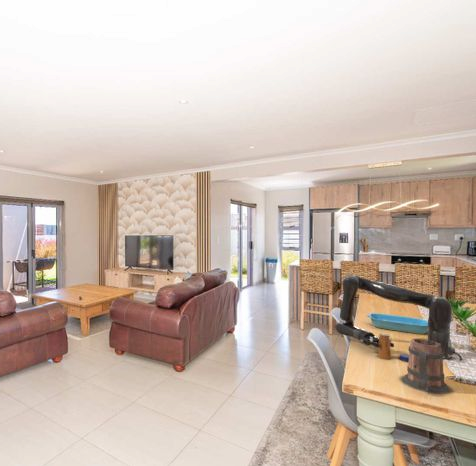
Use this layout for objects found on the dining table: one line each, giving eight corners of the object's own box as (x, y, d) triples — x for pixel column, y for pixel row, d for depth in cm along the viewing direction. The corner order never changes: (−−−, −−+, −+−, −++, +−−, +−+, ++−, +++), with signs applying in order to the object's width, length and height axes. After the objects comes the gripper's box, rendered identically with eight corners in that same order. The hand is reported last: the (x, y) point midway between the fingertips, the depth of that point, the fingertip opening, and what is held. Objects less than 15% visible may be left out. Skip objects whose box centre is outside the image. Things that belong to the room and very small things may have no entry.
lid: (409, 362, 178) (409, 358, 178) (397, 358, 184) (397, 354, 184) (416, 361, 180) (416, 357, 180) (404, 357, 185) (404, 353, 185)
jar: (391, 357, 185) (391, 334, 185) (387, 360, 182) (388, 336, 182) (380, 354, 189) (380, 332, 189) (376, 356, 186) (376, 334, 186)
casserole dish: (430, 328, 235) (430, 318, 235) (436, 337, 217) (436, 326, 217) (366, 320, 256) (366, 311, 256) (366, 327, 238) (366, 318, 238)
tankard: (404, 372, 166) (404, 333, 166) (451, 384, 154) (452, 341, 153) (396, 389, 150) (396, 345, 150) (448, 403, 138) (449, 355, 137)
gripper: (374, 341, 201) (398, 352, 185) (352, 342, 200) (373, 352, 184) (374, 329, 201) (398, 338, 185) (352, 330, 200) (373, 339, 184)
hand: (385, 345), depth 184 cm, fingers open, 8 cm apart
